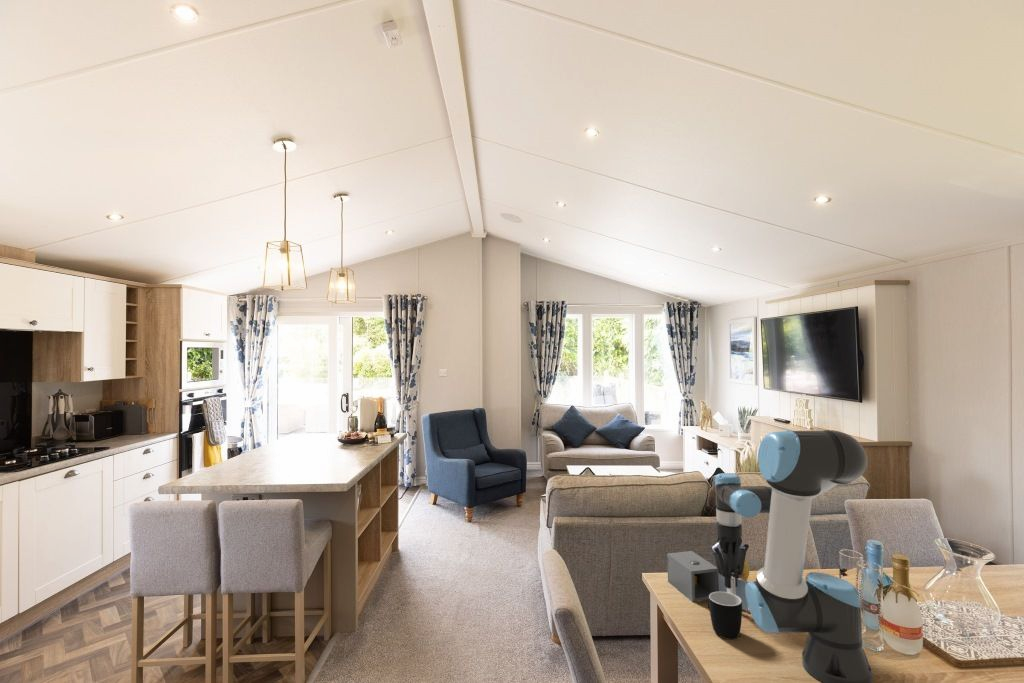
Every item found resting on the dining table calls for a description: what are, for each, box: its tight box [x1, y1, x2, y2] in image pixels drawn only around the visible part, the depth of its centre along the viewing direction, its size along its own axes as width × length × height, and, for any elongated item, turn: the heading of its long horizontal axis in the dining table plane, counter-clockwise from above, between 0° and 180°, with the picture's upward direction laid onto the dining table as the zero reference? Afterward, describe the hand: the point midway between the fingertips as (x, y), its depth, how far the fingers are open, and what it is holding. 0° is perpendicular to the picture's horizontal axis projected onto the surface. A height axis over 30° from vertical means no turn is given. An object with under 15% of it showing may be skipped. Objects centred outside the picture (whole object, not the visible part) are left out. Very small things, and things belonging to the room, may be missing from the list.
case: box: [666, 550, 718, 603], centre depth 175 cm, size 16×10×10 cm, turn 12°
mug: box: [707, 592, 743, 640], centre depth 148 cm, size 12×9×10 cm
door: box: [718, 572, 749, 612], centre depth 164 cm, size 2×10×9 cm, turn 29°
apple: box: [738, 559, 750, 582], centre depth 180 cm, size 9×9×10 cm
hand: (731, 597), depth 160 cm, fingers closed
